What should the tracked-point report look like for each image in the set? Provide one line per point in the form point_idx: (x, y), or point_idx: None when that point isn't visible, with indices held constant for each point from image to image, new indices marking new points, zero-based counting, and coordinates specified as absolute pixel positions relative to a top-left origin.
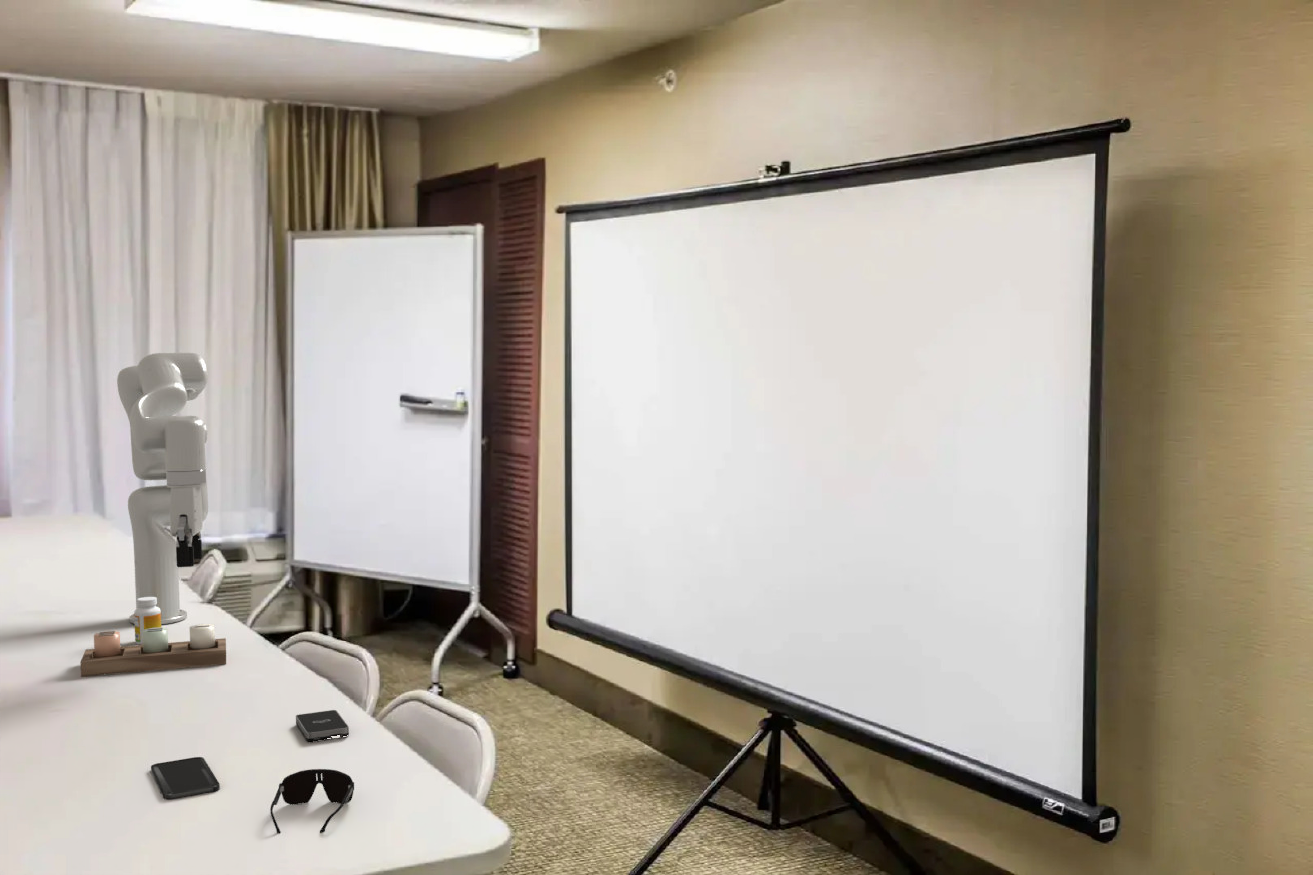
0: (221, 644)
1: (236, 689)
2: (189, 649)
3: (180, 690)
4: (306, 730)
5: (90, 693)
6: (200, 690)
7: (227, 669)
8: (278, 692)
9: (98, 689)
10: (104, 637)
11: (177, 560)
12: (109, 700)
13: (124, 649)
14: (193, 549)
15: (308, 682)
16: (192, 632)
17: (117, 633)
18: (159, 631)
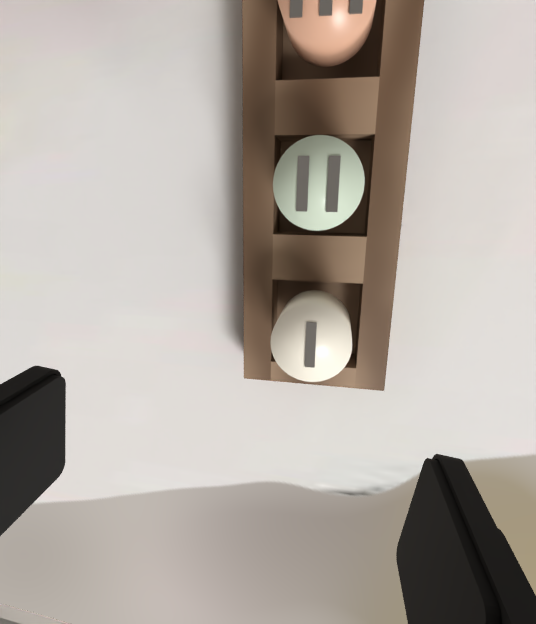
0: None
1: (41, 363)
2: (361, 284)
3: (55, 253)
4: None
5: (72, 26)
6: (47, 294)
7: (203, 360)
8: None
9: (104, 44)
10: None
11: (3, 391)
12: (5, 89)
13: (379, 75)
14: (429, 580)
15: (62, 486)
16: (287, 310)
17: (320, 30)
18: (290, 202)
